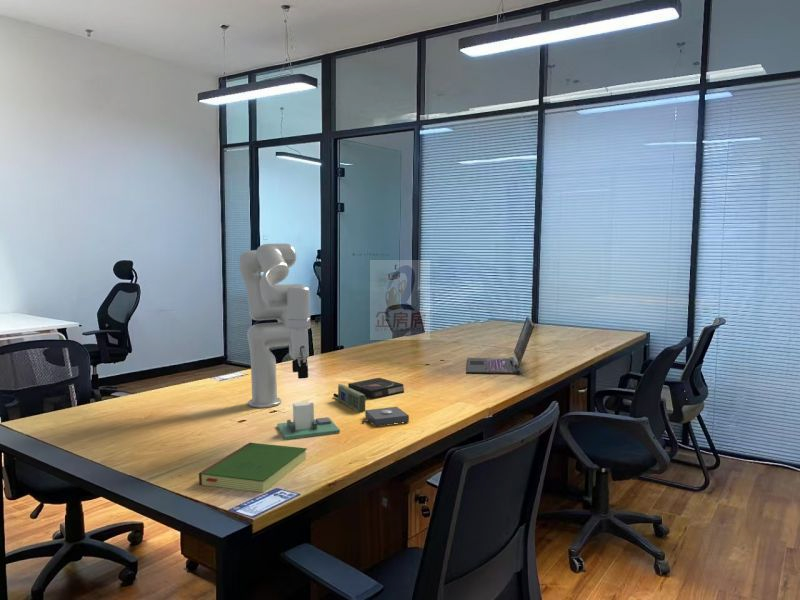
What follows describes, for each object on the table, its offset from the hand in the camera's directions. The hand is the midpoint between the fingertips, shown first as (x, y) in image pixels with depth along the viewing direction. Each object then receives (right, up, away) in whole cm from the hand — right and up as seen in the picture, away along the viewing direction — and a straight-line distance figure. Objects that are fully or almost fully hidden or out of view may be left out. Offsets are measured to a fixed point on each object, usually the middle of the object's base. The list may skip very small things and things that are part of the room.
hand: (300, 374), depth 194 cm
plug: (0, -18, +1) cm, 18 cm away
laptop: (+83, -10, +100) cm, 130 cm away
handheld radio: (+13, -16, +33) cm, 39 cm away
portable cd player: (+23, -15, +52) cm, 58 cm away
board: (+2, -19, +2) cm, 19 cm away
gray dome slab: (+27, -17, +11) cm, 34 cm away
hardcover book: (-6, -23, -34) cm, 42 cm away
